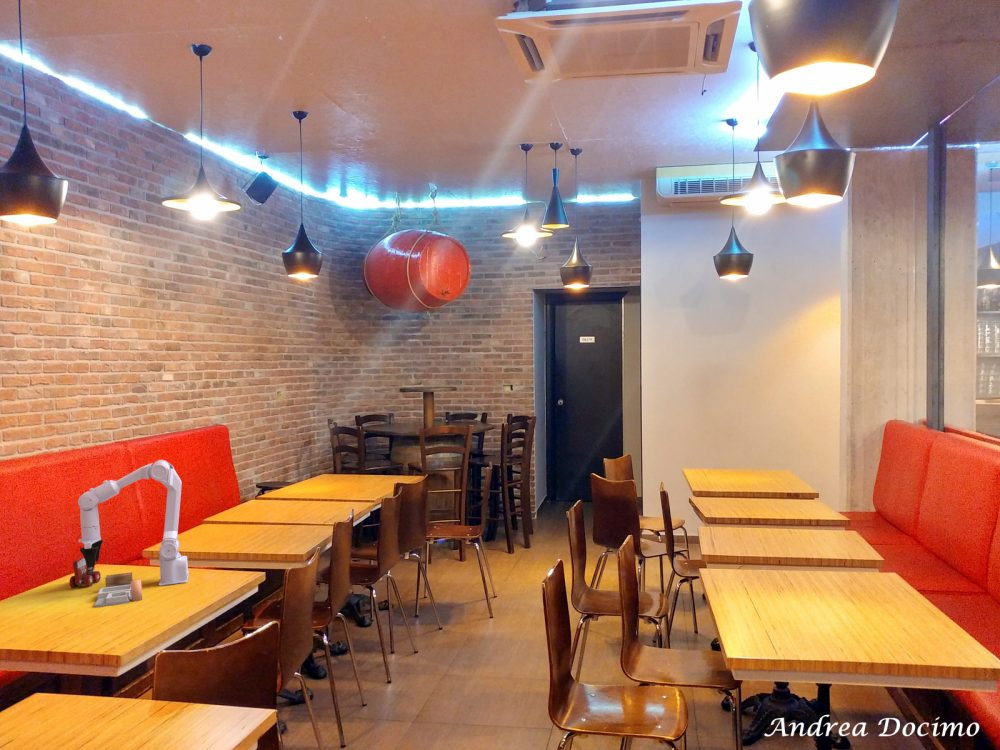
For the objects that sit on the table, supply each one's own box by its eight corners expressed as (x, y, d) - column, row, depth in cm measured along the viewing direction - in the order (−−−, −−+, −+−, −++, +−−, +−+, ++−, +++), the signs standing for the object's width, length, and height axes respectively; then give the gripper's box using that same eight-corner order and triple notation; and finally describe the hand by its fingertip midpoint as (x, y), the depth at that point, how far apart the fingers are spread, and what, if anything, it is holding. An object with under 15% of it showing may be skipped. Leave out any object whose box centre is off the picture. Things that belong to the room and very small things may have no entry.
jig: (134, 591, 274) (133, 583, 274) (129, 602, 261) (128, 595, 261) (101, 595, 271) (101, 588, 270) (94, 607, 257) (93, 599, 257)
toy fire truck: (103, 579, 292) (102, 551, 291) (86, 589, 279) (84, 560, 279) (85, 579, 292) (83, 552, 291) (66, 590, 279) (65, 561, 279)
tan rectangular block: (132, 586, 280) (132, 572, 280) (131, 589, 277) (130, 574, 277) (107, 589, 278) (106, 575, 277) (106, 592, 274) (105, 577, 274)
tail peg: (142, 597, 266) (141, 579, 266) (141, 600, 263) (140, 581, 263) (132, 599, 265) (131, 580, 265) (131, 601, 262) (130, 582, 262)
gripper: (81, 523, 280) (84, 560, 281) (73, 531, 266) (76, 571, 267) (103, 521, 282) (106, 558, 283) (96, 529, 269) (99, 568, 269)
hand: (93, 564), depth 275 cm, fingers open, 7 cm apart
